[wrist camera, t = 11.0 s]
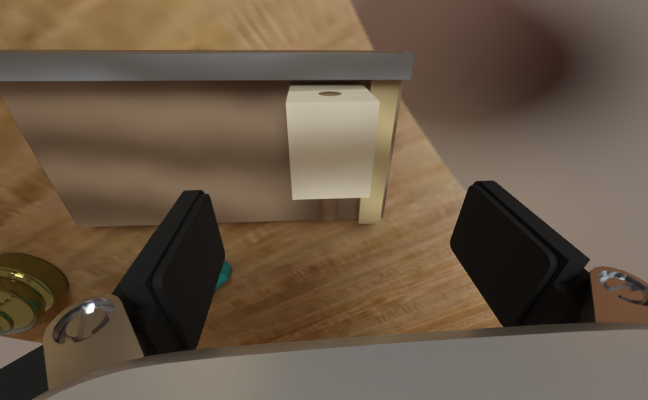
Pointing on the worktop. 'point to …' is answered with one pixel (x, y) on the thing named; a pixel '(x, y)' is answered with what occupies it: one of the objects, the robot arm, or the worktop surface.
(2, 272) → the brass pawn finial
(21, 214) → the worktop surface
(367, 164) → the block with top hole
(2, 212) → the worktop surface
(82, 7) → the worktop surface
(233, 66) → the board
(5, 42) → the worktop surface
